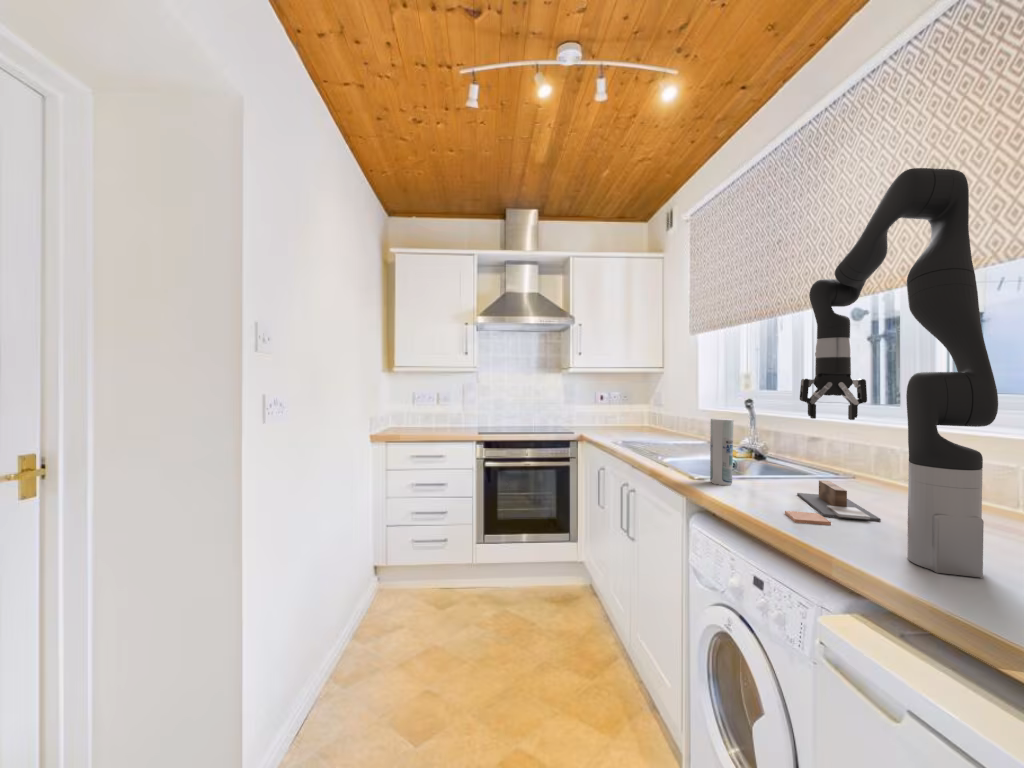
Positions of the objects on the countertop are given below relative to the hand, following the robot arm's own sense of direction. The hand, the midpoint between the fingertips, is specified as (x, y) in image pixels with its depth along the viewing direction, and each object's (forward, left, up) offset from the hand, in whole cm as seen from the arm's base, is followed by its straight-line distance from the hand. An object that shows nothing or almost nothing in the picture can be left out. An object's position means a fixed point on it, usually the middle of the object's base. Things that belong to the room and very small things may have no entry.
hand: (832, 419), depth 118 cm
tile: (-14, +10, -22) cm, 28 cm away
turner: (-5, 0, -22) cm, 22 cm away
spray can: (+18, +24, -22) cm, 37 cm away
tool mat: (-2, 0, -22) cm, 22 cm away
